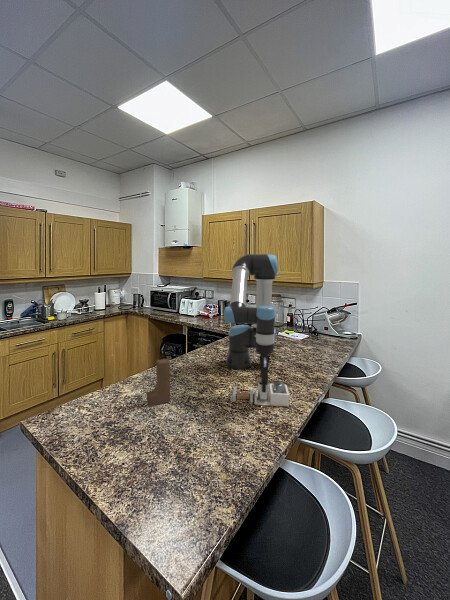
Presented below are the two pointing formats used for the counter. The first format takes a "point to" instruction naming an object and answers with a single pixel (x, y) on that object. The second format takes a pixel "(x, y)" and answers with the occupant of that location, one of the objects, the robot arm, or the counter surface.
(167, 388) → the wooden block
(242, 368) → the robot arm
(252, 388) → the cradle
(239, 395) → the plate
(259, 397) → the cell
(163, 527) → the counter surface
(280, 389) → the cell
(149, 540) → the counter surface
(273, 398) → the rack
